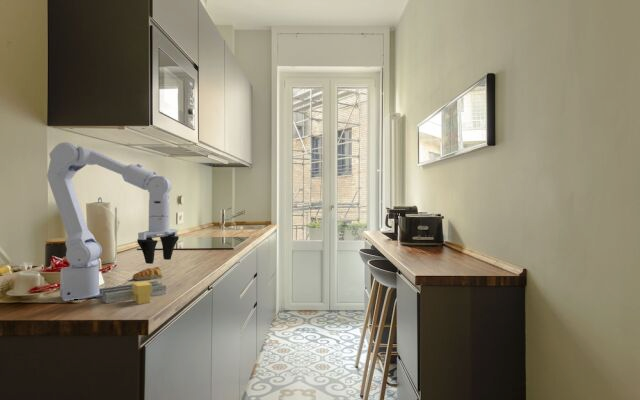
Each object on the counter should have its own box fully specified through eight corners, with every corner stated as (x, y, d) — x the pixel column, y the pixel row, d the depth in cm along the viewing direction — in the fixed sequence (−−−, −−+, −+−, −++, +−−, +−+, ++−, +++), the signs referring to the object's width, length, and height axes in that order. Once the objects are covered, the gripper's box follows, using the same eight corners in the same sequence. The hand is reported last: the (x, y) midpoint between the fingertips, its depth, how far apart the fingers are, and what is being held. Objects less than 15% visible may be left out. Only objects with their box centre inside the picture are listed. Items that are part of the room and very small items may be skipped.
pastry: (137, 282, 129) (137, 271, 129) (129, 280, 133) (129, 269, 133) (164, 278, 136) (164, 267, 136) (155, 275, 140) (155, 265, 140)
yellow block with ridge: (137, 304, 102) (137, 286, 102) (132, 300, 106) (132, 282, 106) (151, 302, 104) (151, 284, 104) (145, 298, 108) (145, 281, 108)
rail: (105, 303, 103) (105, 294, 103) (99, 297, 109) (99, 288, 109) (165, 293, 113) (166, 285, 113) (156, 288, 120) (156, 280, 120)
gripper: (152, 217, 106) (152, 266, 106) (185, 215, 120) (185, 258, 120) (132, 217, 108) (131, 264, 108) (167, 215, 122) (166, 257, 122)
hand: (158, 261), depth 114 cm, fingers open, 7 cm apart
